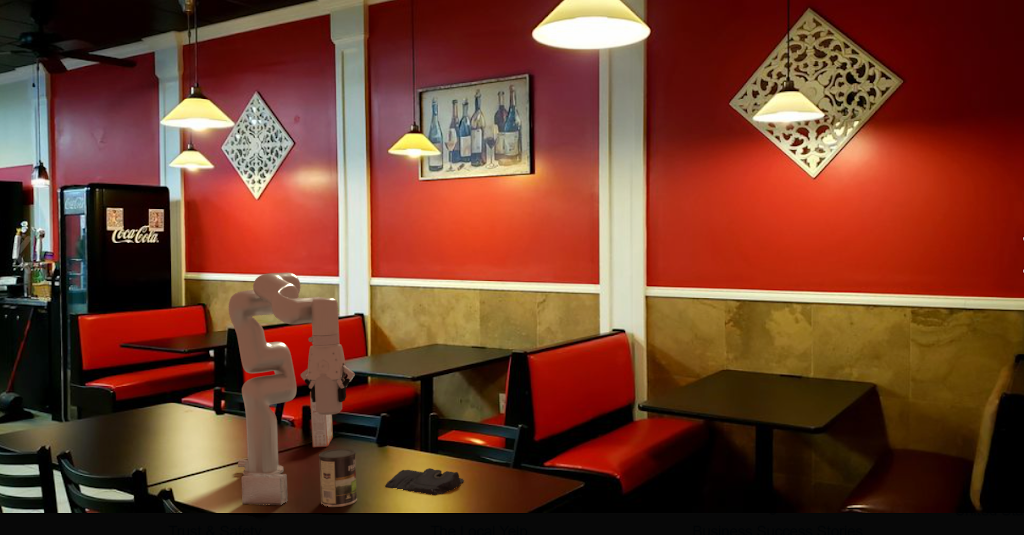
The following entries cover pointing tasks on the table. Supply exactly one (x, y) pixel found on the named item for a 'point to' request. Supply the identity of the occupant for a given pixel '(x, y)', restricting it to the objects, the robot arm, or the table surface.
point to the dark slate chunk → (425, 481)
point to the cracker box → (320, 427)
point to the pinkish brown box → (264, 489)
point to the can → (327, 396)
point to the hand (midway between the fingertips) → (328, 401)
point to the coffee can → (338, 477)
